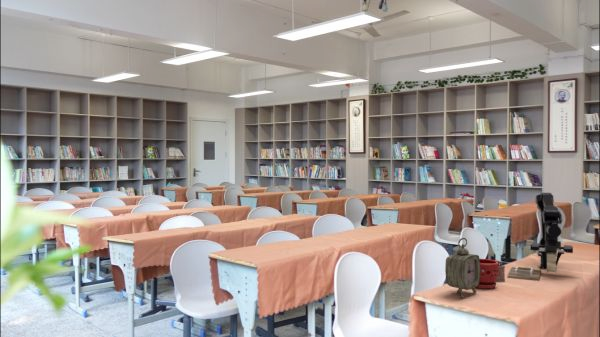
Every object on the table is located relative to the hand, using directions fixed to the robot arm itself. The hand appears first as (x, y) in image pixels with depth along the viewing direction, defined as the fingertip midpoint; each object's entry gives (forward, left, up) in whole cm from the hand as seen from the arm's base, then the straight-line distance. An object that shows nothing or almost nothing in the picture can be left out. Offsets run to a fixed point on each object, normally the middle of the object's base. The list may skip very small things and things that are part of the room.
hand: (551, 265), depth 243 cm
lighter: (+23, -23, -5) cm, 33 cm away
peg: (0, 0, -3) cm, 3 cm away
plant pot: (+35, -27, -5) cm, 44 cm away
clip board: (+4, -12, -5) cm, 14 cm away
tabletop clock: (+53, -33, -5) cm, 63 cm away
